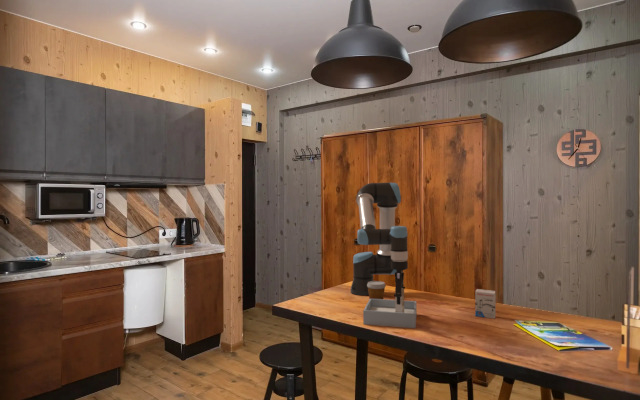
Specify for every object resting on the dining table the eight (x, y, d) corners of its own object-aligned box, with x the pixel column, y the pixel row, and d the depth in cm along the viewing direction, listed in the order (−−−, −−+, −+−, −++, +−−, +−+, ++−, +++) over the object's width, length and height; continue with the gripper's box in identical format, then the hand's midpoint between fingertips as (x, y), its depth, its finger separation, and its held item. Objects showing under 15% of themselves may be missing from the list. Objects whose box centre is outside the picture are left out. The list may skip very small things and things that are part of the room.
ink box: (474, 316, 176) (474, 291, 176) (476, 313, 180) (475, 288, 180) (495, 319, 172) (495, 293, 172) (495, 315, 176) (495, 290, 176)
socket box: (370, 310, 186) (369, 298, 186) (416, 313, 180) (416, 301, 180) (363, 324, 167) (363, 310, 167) (415, 328, 161) (415, 314, 161)
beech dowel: (395, 317, 175) (395, 287, 175) (404, 318, 174) (404, 288, 174) (395, 320, 171) (394, 289, 171) (404, 321, 170) (403, 290, 170)
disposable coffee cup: (385, 303, 199) (384, 280, 198) (386, 309, 189) (386, 285, 189) (366, 303, 199) (366, 280, 199) (367, 308, 190) (367, 284, 190)
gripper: (393, 255, 185) (393, 299, 185) (388, 264, 162) (388, 314, 162) (408, 256, 183) (409, 300, 183) (406, 265, 159) (406, 315, 160)
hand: (399, 307), depth 172 cm, fingers open, 13 cm apart
